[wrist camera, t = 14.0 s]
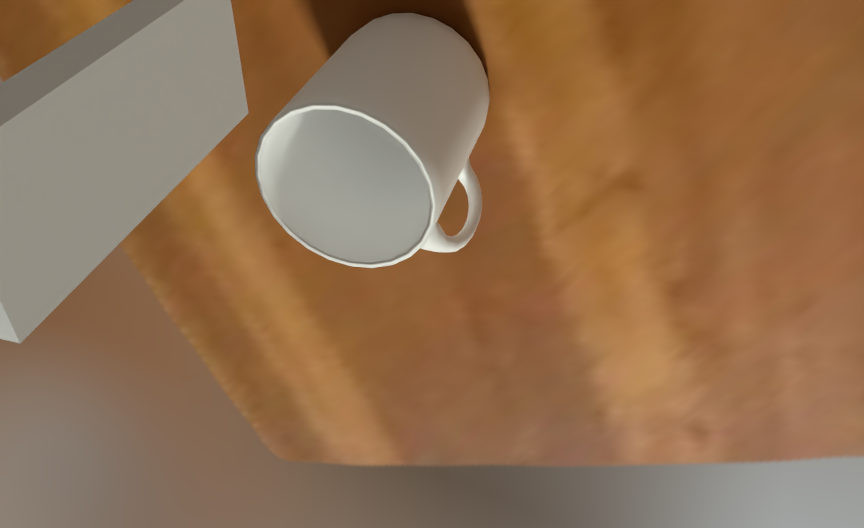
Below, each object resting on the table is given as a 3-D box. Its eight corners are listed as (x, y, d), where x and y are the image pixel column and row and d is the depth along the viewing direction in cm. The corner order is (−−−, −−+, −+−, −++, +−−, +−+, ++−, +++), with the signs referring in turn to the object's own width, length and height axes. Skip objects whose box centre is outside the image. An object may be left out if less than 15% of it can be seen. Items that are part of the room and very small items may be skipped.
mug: (384, -27, 43) (296, 61, 34) (561, 97, 44) (519, 212, 36) (318, 97, 49) (230, 199, 40) (475, 202, 51) (422, 322, 42)
